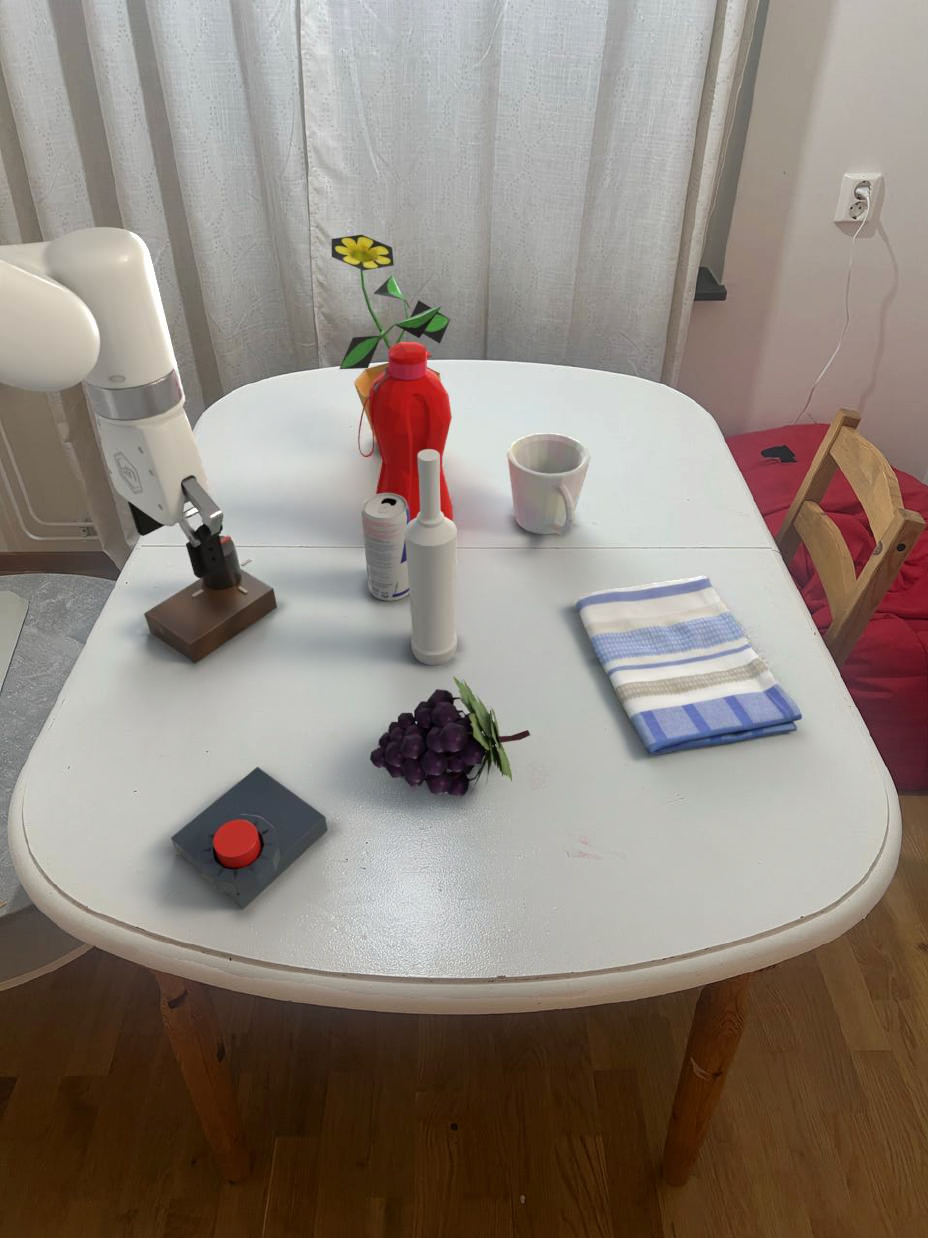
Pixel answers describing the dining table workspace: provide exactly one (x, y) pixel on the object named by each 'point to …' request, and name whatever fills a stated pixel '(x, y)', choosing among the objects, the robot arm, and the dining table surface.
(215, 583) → the dial
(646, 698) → the dish towel
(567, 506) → the mug
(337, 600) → the dining table surface
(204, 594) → the console
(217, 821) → the button box
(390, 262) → the potted plant
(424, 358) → the water bottle
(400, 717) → the fruit
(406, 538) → the bottle
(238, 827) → the plunger
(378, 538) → the energy drink
